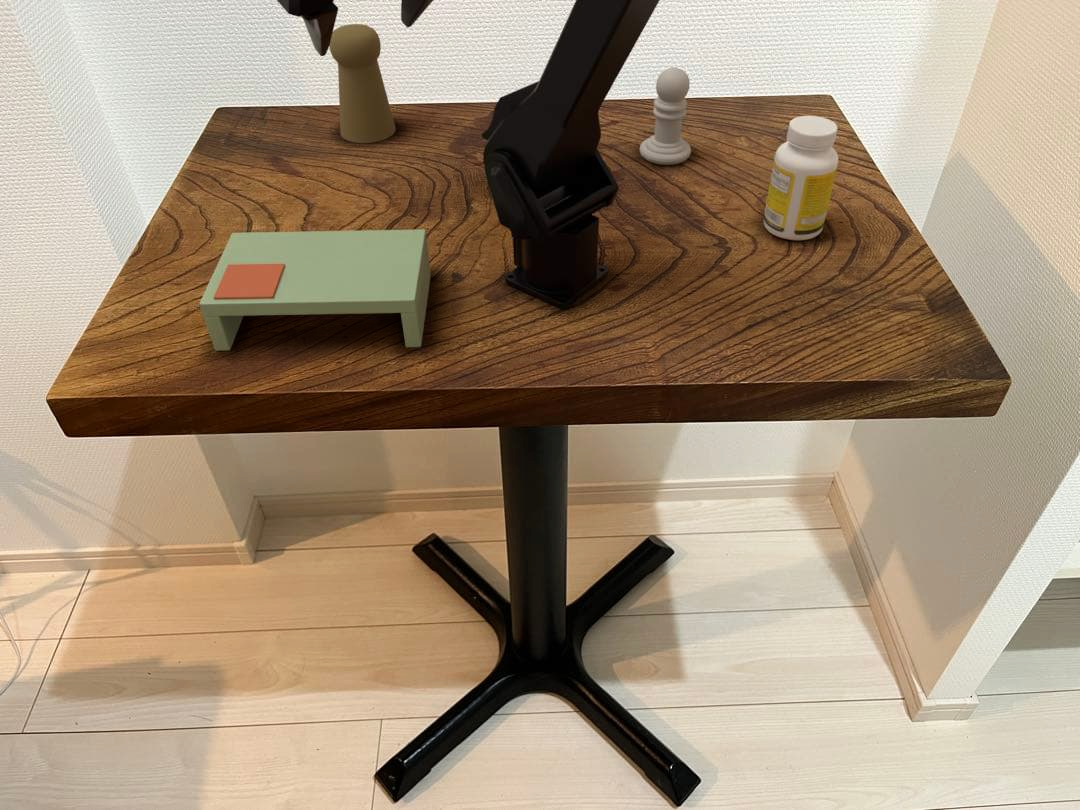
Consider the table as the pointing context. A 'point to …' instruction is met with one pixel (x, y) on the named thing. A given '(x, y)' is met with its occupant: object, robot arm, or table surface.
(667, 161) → the chess piece
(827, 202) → the supplement bottle
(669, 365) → the table surface
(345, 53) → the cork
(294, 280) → the shelf
